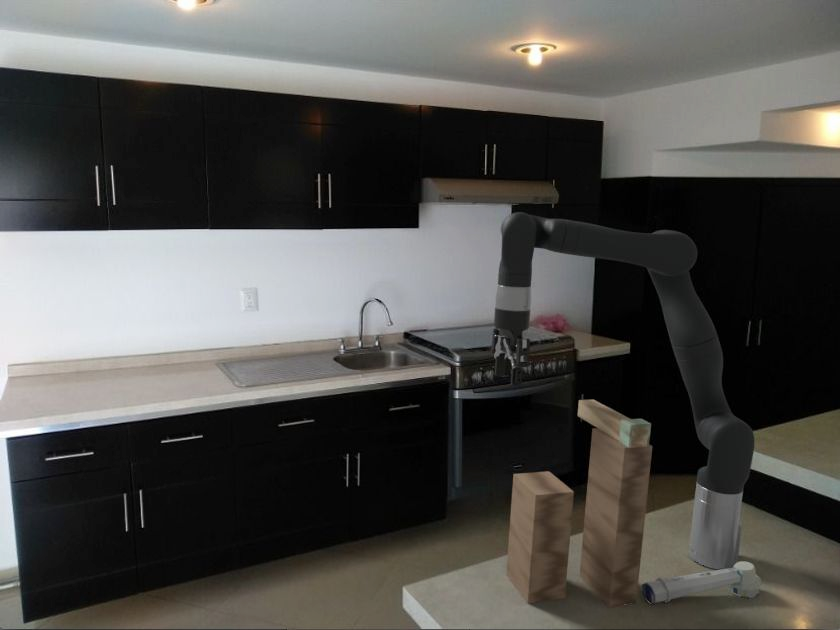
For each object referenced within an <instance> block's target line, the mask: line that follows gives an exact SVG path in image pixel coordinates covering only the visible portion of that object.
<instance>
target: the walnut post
mask: <svg viewBox="0 0 840 630" xmlns="http://www.w3.org/2000/svg"><path fill="white" fill-rule="evenodd" d="M590 444H591V445H590V450H589V455H590V456H589V462H588V463H589V465H588V473H587V474H588V475H587V476H588V477H587V486H586V488H587V489H586V499H585V510H584V519H583V520H584V521H583V522H584V523H583V532H582V542H581V554H580V565H579V566H580V567H579V575H578V576H579V577H580V578H581V579H582V580H583V582H585V584H587V586H588V587H589V588H590V589H591V590H592V591H593V592H594V593H595V594H596V595H597V596H598V598H600V600H601V601H602V602H604V603H605V605H606V606H607V607H608V608H613V607H620V606H621V605H622V606H625V605H624V604H629V605H632V604H631V603H635V604H637V599H638V598H637V597H638V590H639V581H640V580H639V579H640V569H641V560H642V549H643V543H644V542H643V539H644V531H645V520H646V513H647V512H646V511H647V510H646V509H647V504H648V503H647V502H648V492H649V482H650V472H651V466H652V465H651V464H652V463H651V462H652V455H653V454H652V453H653V445H651V444H650V443H649V446H647V447H632V448H628V447H626V446H625V445H623V444H621V443H620V442H619V440H617V439H615V438H614V437H612V436H610V435H609V434H607V433H605V432H604V431H602V430H600V429H599V428H597V427H595V428H594V427H592V431H591V441H590ZM622 606H621V607H622Z"/></svg>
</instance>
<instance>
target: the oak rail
mask: <svg viewBox="0 0 840 630" xmlns="http://www.w3.org/2000/svg"><path fill="white" fill-rule="evenodd" d="M577 417H578V418H580V419H581V420H583V421H585V422H587V423H588V424H590V425H591V426H594V427H595V428H599V429H600V430H602V431H604V432H605V433H607V434H609V435H610V436H612V437H614V438H615V439H617V440H619V442H620V443H621V444H623V445H625V446H626V447H628V448H632V447H647V446H649V444H650V438H651V428H652V423H651V422H648V421H647V420H645V419H643V418H629V417H628V416H626V415H624V414H622V413H620V412H618V411H616V410H614V409H613V408H611V407H609V406H606V405H605V404H602V403H601V402H599V401H597V400H595V399H579V400H578V407H577Z"/></svg>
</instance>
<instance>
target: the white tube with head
mask: <svg viewBox="0 0 840 630" xmlns="http://www.w3.org/2000/svg"><path fill="white" fill-rule="evenodd" d="M727 586H729V589H731V590H732V591H733V592H734V593H736V594H738V595H740V596H743V598H744V597H746V598H748V597H749V598H748V599H752V598H756V597H757V595H759V594H760V591H759V590H760V587H761V586H762V580H761V577H760V576H759V575H757V572H756V567H755V565H754V564H753V563H751V562H749V561H738V562H737V563H735V564H734V565H733V566H732V567H731V568H727V569H715V570H710V571H704V572H698V573H691V574H684V575H679V576H673V577H666V578H662V577H658V578H657V579H655V580H652V581H648V582H644V583H642V584H641V593H642V595H643V598H644V597H645V598H646V599H647V600H648V601H649V602H650V603H651V604H650V603H649V602H648V601H647V600H646V599H645V598H644V599H645V600H646V601H647V602H648V603H649V604H650V605H653V604H652V603H654V604H657V602H658V603H662V601H663V602H664V601H666V602H667V603H668V602H670V601H671V600H674V599H679V598H683V597H686V596H687V597H688V596H690V595H694V594H695V595H696V594H698V593H703V592H706V591H710V590H714V589H719V588H723V587H727ZM731 590H730V591H731ZM734 593H733V594H734ZM740 596H739V597H740ZM751 597H752V598H751Z"/></svg>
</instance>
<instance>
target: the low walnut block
mask: <svg viewBox="0 0 840 630" xmlns="http://www.w3.org/2000/svg"><path fill="white" fill-rule="evenodd" d="M574 494H575V491H574V490H573V489H571V488H570V487H569V486H568V485H567V484H565V482H563V481H561V480H560V479H559V478H558V477H557V476H555V475H554V474H553V473H552V472H550V471H548V470H547V471H537V472H523V473H513V477H512V489H511V502H510V503H511V505H510V518H509V519H510V520H509V534H508V544H507V545H508V548H507V558H506V559H507V560H506V574H505V575H506V576H507V578H508V579H509V581H510V582H511V583H512V585H513V586H514V587H515V589H516V590H517V591H518V592H519V594H520V596H521V597H522V598H523V599H524V601H525V602H526V604H533V603H541V602H547V601H548V602H549V601H554V600H555V601H556V600H562V599H566V588H567V577H568V576H567V575H568V566H569V565H568V564H569V557H570V556H569V554H570V542H571V533H572V532H571V531H572V530H571V529H572V520H573V519H572V518H573V509H574V508H573V507H574V506H573V505H574V496H575V495H574Z"/></svg>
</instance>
